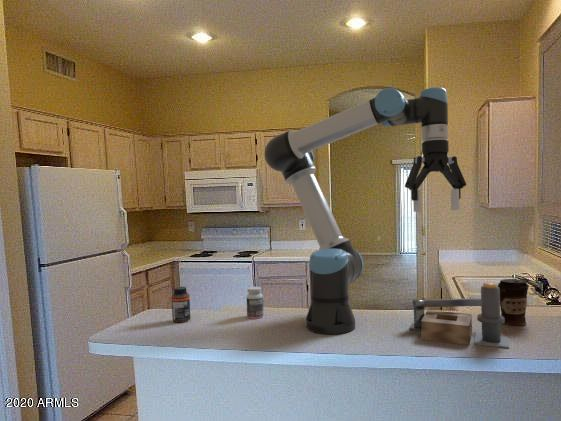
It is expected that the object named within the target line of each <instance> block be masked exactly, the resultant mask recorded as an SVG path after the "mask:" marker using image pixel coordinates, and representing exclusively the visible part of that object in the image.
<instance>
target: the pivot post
mask: <svg viewBox="0 0 561 421" xmlns="http://www.w3.org/2000/svg"><path fill="white" fill-rule="evenodd" d="M424 315H425V308H414V307H413V322H412V323H411V324H410V326H409V327H408V330H409V331H414V330H415V332H421V320H422V319H423V317H424Z"/></svg>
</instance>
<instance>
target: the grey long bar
mask: <svg viewBox="0 0 561 421" xmlns="http://www.w3.org/2000/svg"><path fill="white" fill-rule="evenodd" d="M411 303H412V305H411V306H412V308H413V309H414V308H424V309H425V308H442V307H443V308H444V307H445V308H446V307H447V308H448V307H449V308H450V307H458V308H459V307H481V297H478V298H471V297H470V298H438V299H437V298H433V299H429V298H428V299H423V298H413V299H412V302H411Z"/></svg>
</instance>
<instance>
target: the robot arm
mask: <svg viewBox="0 0 561 421" xmlns="http://www.w3.org/2000/svg"><path fill="white" fill-rule="evenodd" d="M448 104H449V103H448V93H447V90H446V89H445V88H444V87H439V86H434V87H429V88H425V89H423V90H421V91H420V96H419V97H417V98H409V99H406V97H405V95H404V94H403V93H402V92H401V91H400V90H397V89H396V88H394V87H386V88H383V89H381V90H380V91H379V92H378V93H377V94H376V96H375V97H373V98H370V99H369V100H367V101H364V102H362V103H359V104H357V105H355V106H352V107H350V108H347V109H345V110H343V111H339V112H338V113H335V114H334V115H331V116H329V117H327V118H324V119H322V120H319V121H317V122H315V123H312V124H310V125H308V126H307V125H306V126H305V127H303V128H300V129H299V130H293V129H290V130H288V131H286V132H283V133H281V134H278V135H276V136H274V137H273V138H271V139H270V140H269V141H268V142H267V143H266V145H265V148H264V153H263V154H264V160H265V162H266V164H267V165H268V166H269V167H270V168H271V169H272V170H274V171H277V172H281V174H282V176H283V178H284V180H285V183H287V184H289V185H291V186H292V187H293V190H294V192H295V194H296V197H297V199H298V201H299V204H300V205H301V208H302V210H303V212H304V214H305V216H306V219H307V221H308V223H309V225H310V227H311V230H312V232H313V235H314V236H315V239H316V241H317V244H318V246H319V249H318V250H316V251H313V252H312V253H311V254H310V257H309V262H308V265H309V266H308V267H309V285H310V286H309V287H310V304H309V307H308V311H307V314H306V318H305V328H306V329H307V330H309V331H311V332H313V333H317V334H323V335H339V334H346V333H349V332H351V331H354V330H355V329H356V319H355V316H354V313H353V309H352V306H351V304H350V302H349V301H350V299H349V297H350V296H349V294H350V292H349V284H351V283H354V282H355V281H357V279H359V277H360V275H361V274H362V273H363V269H364V260H363V257H362V254H360V252H359V251H357V250H356V249H354V247H353V245H352V243H351V241H350V239H349V238H347V237H345V236H343V234H342V232H341V230H340V228H339V225H338V223H337V221H336V218H335V217H334V215H333V212H332V210H331V208H330V205H329V203H328V202H327V200H326V197H325V195H324V192H323V191H322V189H321V186H320V184H319V182H318V180H317V178H316V175H315V173H316V170H317V166H316V165H315V163H314V160H315V157H314V152H313V151H315V150H317V149H320V148H322V147H325V146H327V145H329V144H332V143H334V142H337V141H340V140H342V139H345V138H347V137H349V136H352V135H355V134H357V133H359V132H362V131H365V130H367V129H370V128H372V127H375V126H378V125H379V124H381V125H382V126H383V127H397V126H404V125H413V124H419V123H421V126H420V127H421V128H420V129H421V141H423V142H421V153H422V154H421V155H423V156H421V155H420V156H419V155H418V156H414V157H413V162H412V163H413V164H412V166H411V169H410V172H409V174H408V177H407V180H406V182H405V185H404V188H406V189H408V190H409V191H410V194H411V196H410V199H411V201H412V202H413V212H415V213H420V212H421V213H422V189H419V188H420V187H421V185H422V184H423V182H424V181H425V179H426V178H427V177H428V175H429V174H430V173H432V172H434V173H435V172H436V173H440V174H442V175H443V176H444V178H445V179H446V180H447V182H448V183H449V184H450V186H451V189H450V208H451V209H450V210H451V211H460V200H461V198H462V196H461V190H462V189H463V188H464V187H467V183H466V180H465V177H464V176H463V173H462V170H461V169H460V166H459V164H458V158H457V156H448V153H449V148H450V146H449V141H448V140H447V139H448V138H449V125H448V123H449V118H448V117H449V114H448V113H449V108H448V107H449V106H448ZM422 165H423V167H422Z"/></svg>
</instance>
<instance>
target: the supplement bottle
mask: <svg viewBox="0 0 561 421" xmlns="http://www.w3.org/2000/svg"><path fill="white" fill-rule="evenodd" d="M173 292H174V293H173V294H172V295H171V313H172V314H171V315H172V316H171V317H172V322H173V323H175V322H184V323H186V322H185V321H187V322H189V321H190V320H191V300H190V293H189V292H188V291H187V287H186V286H176V287H174V288H173ZM188 320H189V321H188Z"/></svg>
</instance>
